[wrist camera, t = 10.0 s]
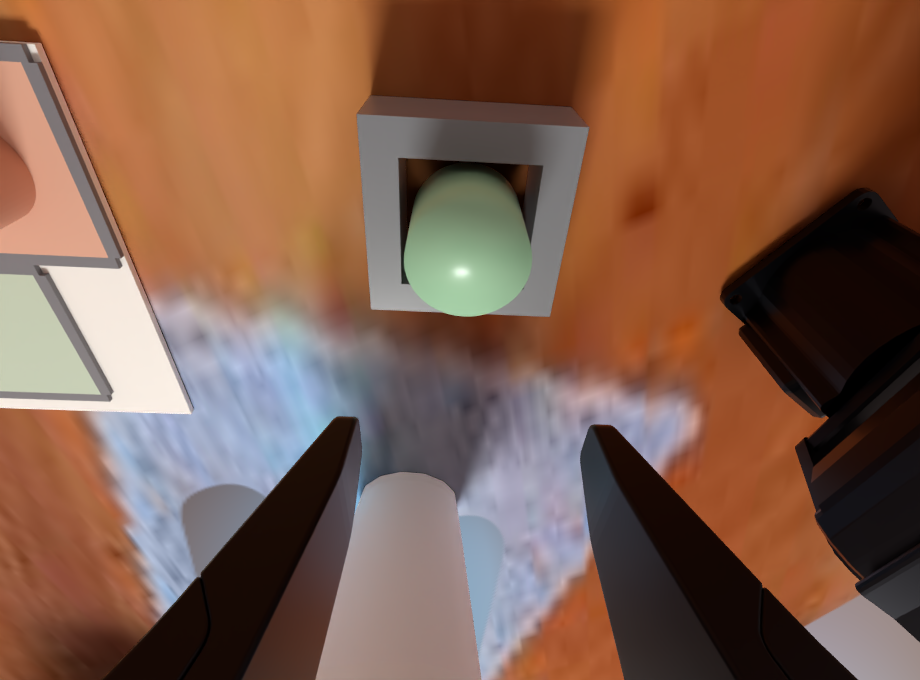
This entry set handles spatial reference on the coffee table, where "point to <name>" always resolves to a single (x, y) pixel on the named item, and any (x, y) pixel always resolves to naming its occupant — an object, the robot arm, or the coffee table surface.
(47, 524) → the coffee table surface
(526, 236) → the button
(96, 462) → the coffee table surface
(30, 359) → the sheet
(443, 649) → the foam cup
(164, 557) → the coffee table surface
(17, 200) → the peach round-top post
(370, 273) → the button housing
